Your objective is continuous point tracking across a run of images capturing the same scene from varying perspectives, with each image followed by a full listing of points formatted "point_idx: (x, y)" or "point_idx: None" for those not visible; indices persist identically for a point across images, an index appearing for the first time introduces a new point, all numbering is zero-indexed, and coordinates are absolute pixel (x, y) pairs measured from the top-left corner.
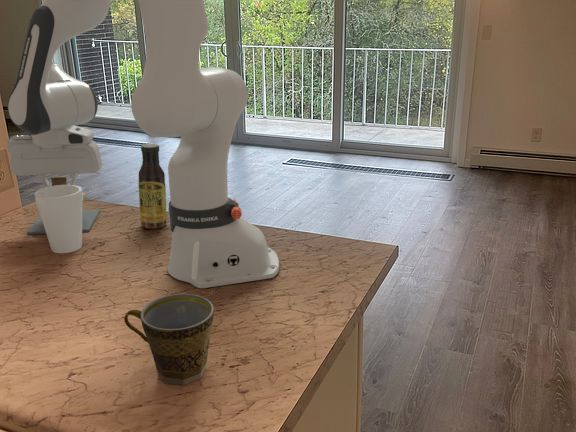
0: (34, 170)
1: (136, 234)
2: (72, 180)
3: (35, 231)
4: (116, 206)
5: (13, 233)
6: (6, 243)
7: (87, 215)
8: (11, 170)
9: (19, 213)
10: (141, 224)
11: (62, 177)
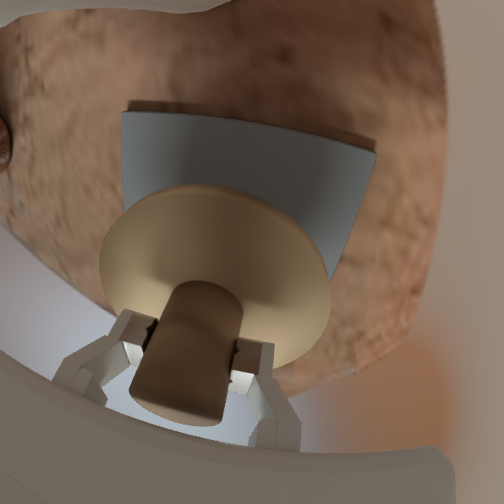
0: (321, 486)
1: (15, 79)
2: (89, 354)
3: (342, 145)
4: (110, 306)
5: (418, 185)
6: (441, 89)
7: None
8: (453, 470)
9: (371, 342)
10: (6, 135)
11: (152, 402)
